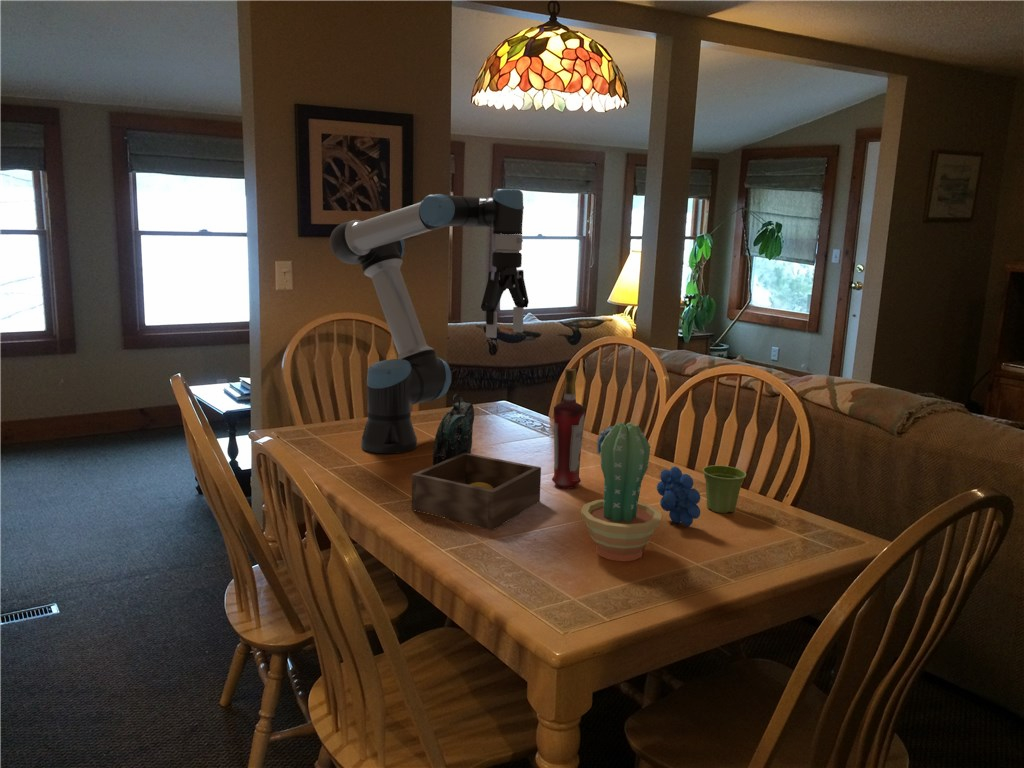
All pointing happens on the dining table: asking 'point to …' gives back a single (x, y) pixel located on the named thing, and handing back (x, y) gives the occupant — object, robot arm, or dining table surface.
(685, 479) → the grapes
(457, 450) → the dark green bag
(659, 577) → the dining table surface
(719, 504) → the plant pot
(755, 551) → the dining table surface
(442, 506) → the box
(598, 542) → the potted cactus
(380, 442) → the robot arm
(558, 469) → the liquor
